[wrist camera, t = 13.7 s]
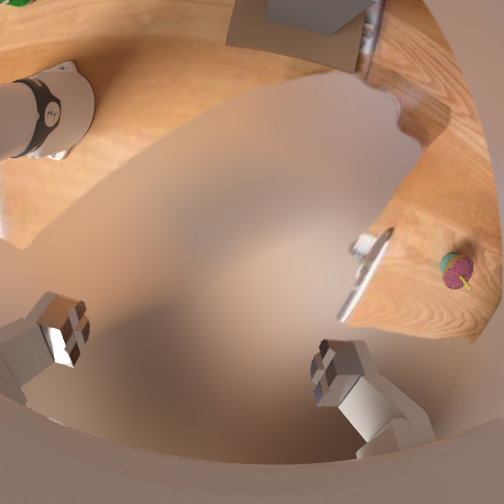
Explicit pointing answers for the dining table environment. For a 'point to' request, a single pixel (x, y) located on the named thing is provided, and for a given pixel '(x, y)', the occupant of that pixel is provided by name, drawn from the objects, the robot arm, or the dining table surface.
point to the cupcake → (456, 270)
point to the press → (301, 29)
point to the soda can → (16, 2)
